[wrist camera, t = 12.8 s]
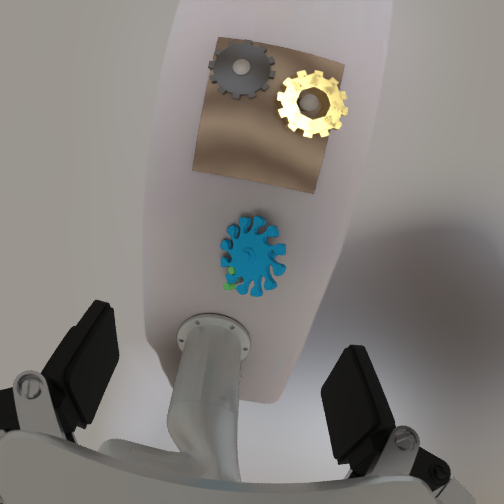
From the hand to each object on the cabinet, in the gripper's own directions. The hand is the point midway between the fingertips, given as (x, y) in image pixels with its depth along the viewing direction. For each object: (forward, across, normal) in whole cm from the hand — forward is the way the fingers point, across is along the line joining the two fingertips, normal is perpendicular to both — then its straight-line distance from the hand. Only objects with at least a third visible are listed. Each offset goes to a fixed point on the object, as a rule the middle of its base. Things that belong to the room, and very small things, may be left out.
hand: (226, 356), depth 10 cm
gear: (+27, -2, +7) cm, 28 cm away
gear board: (+26, -1, -11) cm, 28 cm away
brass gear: (+25, -5, -13) cm, 28 cm away
